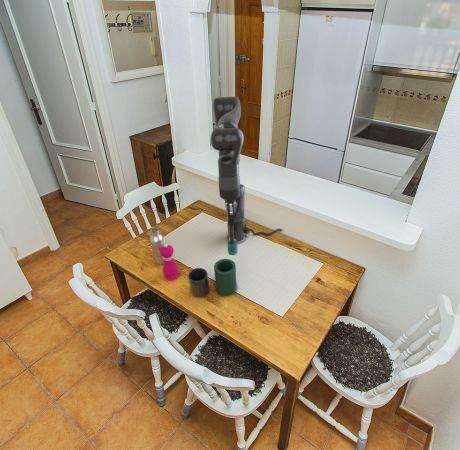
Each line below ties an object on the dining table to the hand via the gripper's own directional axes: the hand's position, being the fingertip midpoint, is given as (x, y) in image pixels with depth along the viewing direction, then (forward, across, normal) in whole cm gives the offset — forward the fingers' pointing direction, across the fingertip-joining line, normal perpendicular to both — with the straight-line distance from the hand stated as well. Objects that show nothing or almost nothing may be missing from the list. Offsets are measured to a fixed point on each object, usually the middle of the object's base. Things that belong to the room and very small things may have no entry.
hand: (231, 223), depth 122 cm
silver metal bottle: (+37, +21, +35) cm, 55 cm away
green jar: (+37, 0, +4) cm, 37 cm away
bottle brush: (+15, 0, 0) cm, 15 cm away
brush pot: (+37, 0, +16) cm, 40 cm away
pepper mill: (+37, +10, +29) cm, 48 cm away
